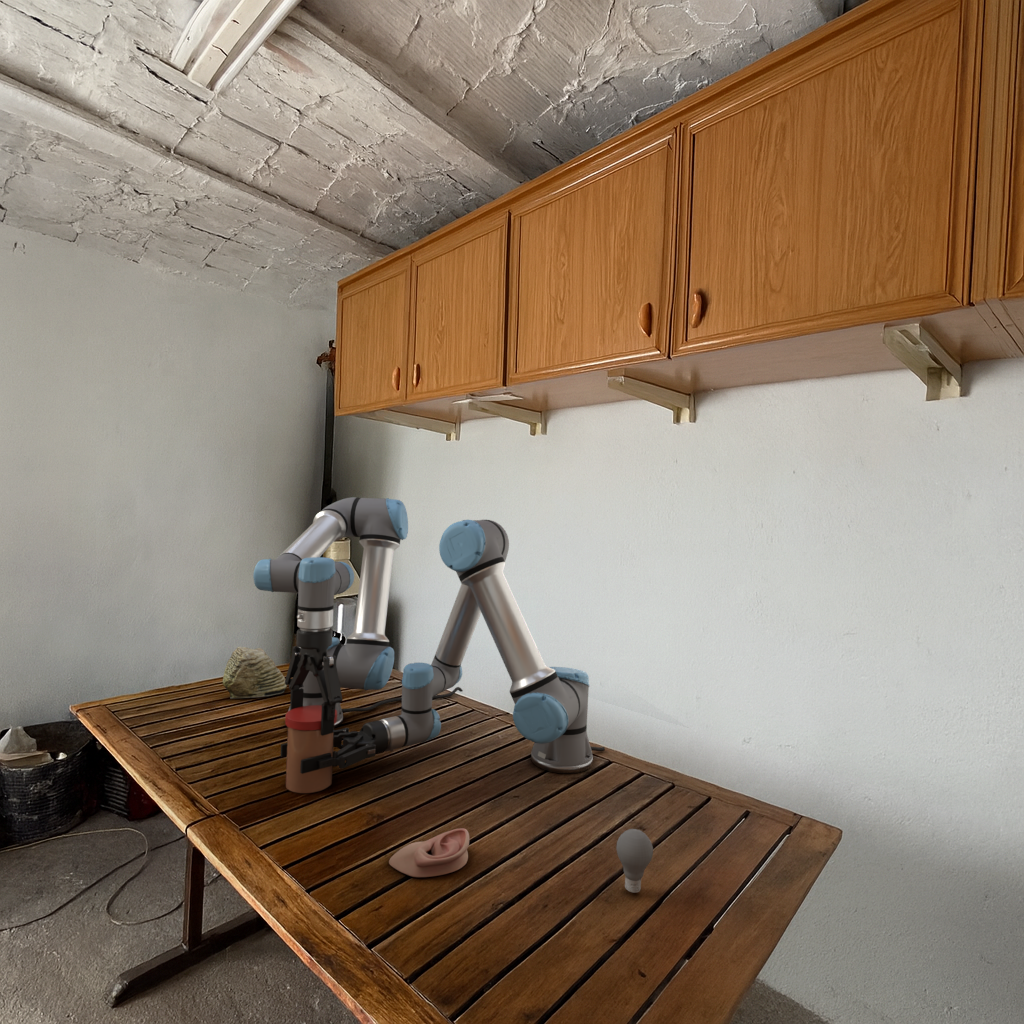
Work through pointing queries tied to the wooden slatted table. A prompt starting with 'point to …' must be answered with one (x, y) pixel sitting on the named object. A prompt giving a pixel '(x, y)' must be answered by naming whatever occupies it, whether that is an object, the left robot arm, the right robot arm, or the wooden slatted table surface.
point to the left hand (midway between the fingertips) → (311, 725)
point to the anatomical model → (433, 855)
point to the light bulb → (634, 857)
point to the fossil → (252, 674)
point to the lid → (305, 718)
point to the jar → (304, 747)
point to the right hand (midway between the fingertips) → (291, 758)
